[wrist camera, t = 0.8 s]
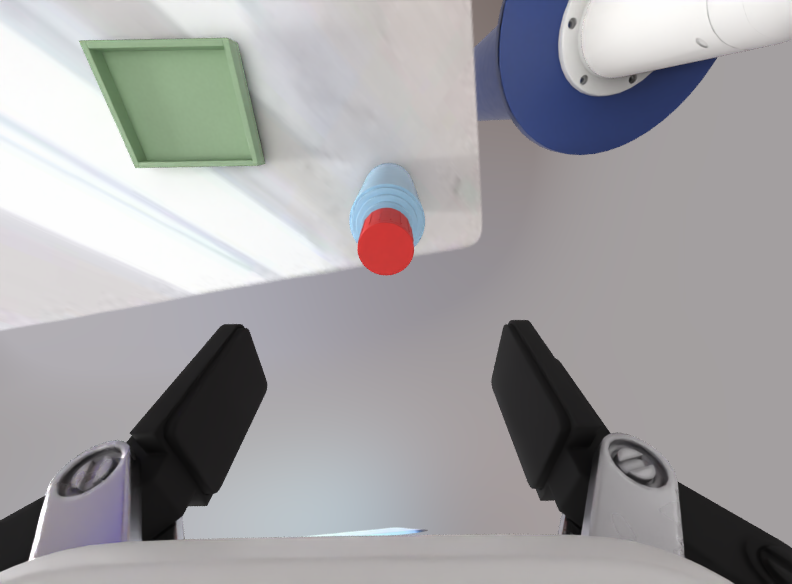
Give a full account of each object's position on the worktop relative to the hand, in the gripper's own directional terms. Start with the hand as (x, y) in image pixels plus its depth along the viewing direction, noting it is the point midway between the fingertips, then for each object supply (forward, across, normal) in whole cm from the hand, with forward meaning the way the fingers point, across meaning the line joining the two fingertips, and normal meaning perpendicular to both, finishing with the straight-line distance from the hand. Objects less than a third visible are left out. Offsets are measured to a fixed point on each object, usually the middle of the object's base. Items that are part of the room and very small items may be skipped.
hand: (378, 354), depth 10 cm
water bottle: (+30, 0, 0) cm, 30 cm away
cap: (+14, 0, 0) cm, 14 cm away
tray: (+30, +22, -9) cm, 38 cm away
